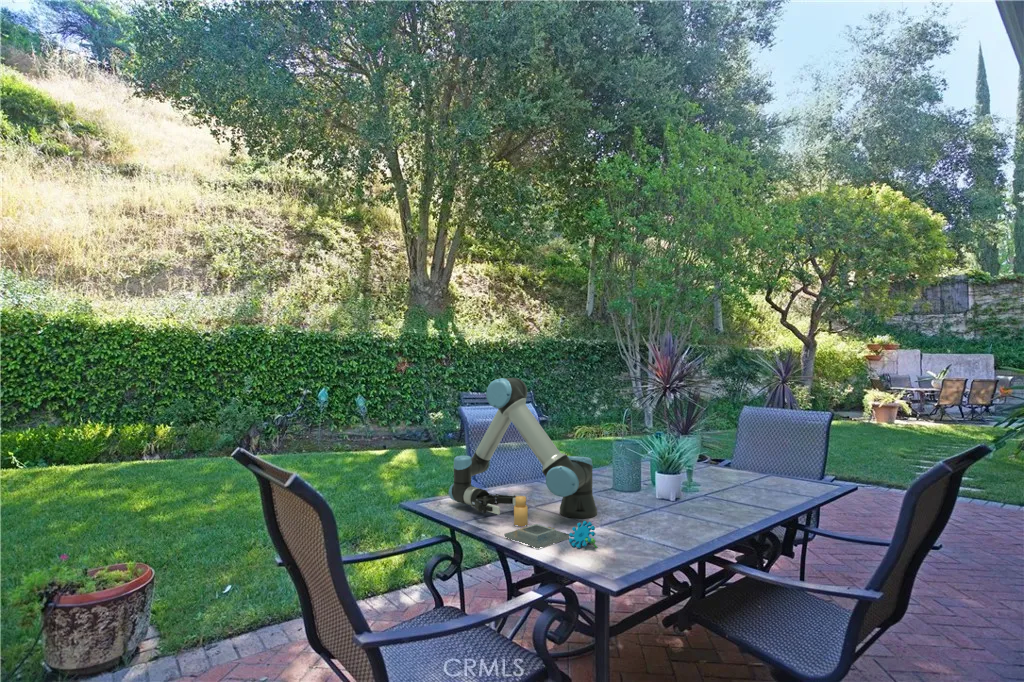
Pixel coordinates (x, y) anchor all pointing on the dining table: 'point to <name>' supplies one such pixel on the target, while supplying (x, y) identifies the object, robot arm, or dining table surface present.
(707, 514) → the dining table surface
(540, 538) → the junction box
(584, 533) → the gear
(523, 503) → the stacked tan cylinders
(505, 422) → the robot arm
